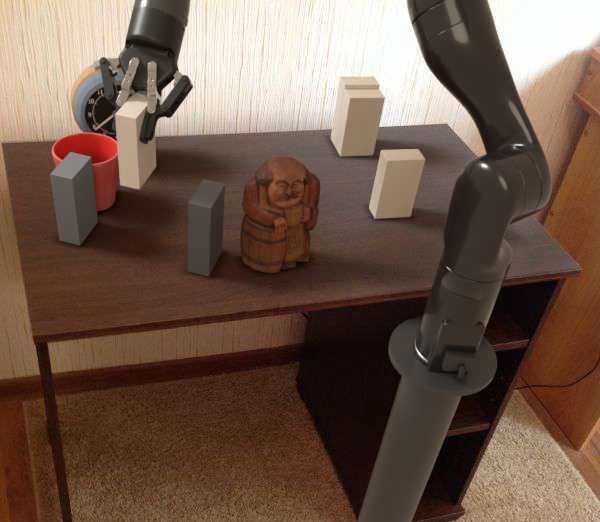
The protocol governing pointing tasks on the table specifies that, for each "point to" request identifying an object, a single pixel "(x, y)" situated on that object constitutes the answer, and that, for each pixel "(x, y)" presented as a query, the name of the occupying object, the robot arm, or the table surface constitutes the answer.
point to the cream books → (361, 142)
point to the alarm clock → (94, 101)
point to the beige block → (134, 143)
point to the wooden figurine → (279, 215)
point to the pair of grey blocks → (83, 217)
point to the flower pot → (94, 162)
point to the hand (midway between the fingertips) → (131, 138)
